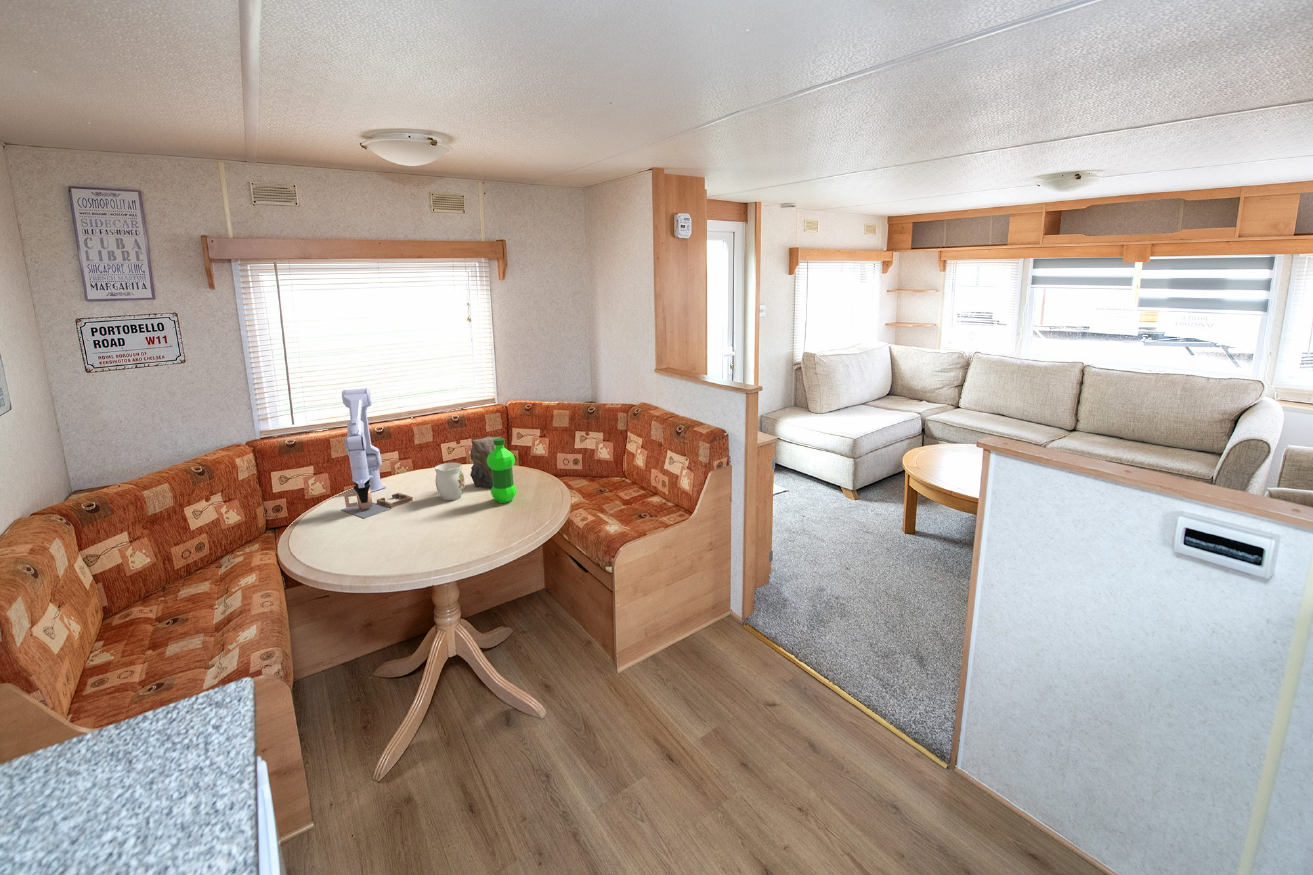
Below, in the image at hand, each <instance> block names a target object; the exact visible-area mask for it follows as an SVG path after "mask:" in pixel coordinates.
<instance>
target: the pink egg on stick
mask: <svg viewBox="0 0 1313 875" xmlns="http://www.w3.org/2000/svg"><path fill="white" fill-rule="evenodd" d="M343 496H344V503H345V508H348V507H352V506H358V507H359V508H360V509H365V508H370V507H372V506H373V503H374V502H373V499H372V498H373V497H372V492H371V490H370V488H369V491H368V502H367V503H361V501H360V498H359V496H358V494H357V492H356V491H355V492H349V493H347V492H346V493H344V494H343ZM350 497H351V498H352V497H356V499H357V500H356V501H355V502H350V499H349V498H350Z"/></svg>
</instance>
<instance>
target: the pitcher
mask: <svg viewBox="0 0 1313 875" xmlns="http://www.w3.org/2000/svg"><path fill="white" fill-rule="evenodd" d="M462 467H463V464H462V463H459V462H445V463H442V464H439V465H435V467H434V470H435V474H436V476H435V479H434V480H435V486H436V490H437V492H438V494H439V496H440V497H441V498H442V499H443V500H444V501H455V500H458V499H460V498H462V497H461V496H462V495H463V493H464V490H465V484H466V483H465V482H466V481H465V475H464V474H463V471H462V470H463V469H462Z"/></svg>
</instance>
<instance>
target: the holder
mask: <svg viewBox="0 0 1313 875" xmlns="http://www.w3.org/2000/svg"><path fill="white" fill-rule="evenodd" d="M396 497H398V498H399V497H400V498H399V499H400V500H397V501H394V502H389V501H386V497H381V498H378V499H376V504H377V503H378V505H381V506H384V507H387V508H390V509H392V508H395V507H398V506H401V505H404V504H407V503H409V502H412V501H414V498H413V496H411V495H408V494H404V493H401V492H396V493H393V494H391V499H393V500H395V499H397V498H396ZM394 498H395V499H394ZM397 505H398V506H397Z"/></svg>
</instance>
